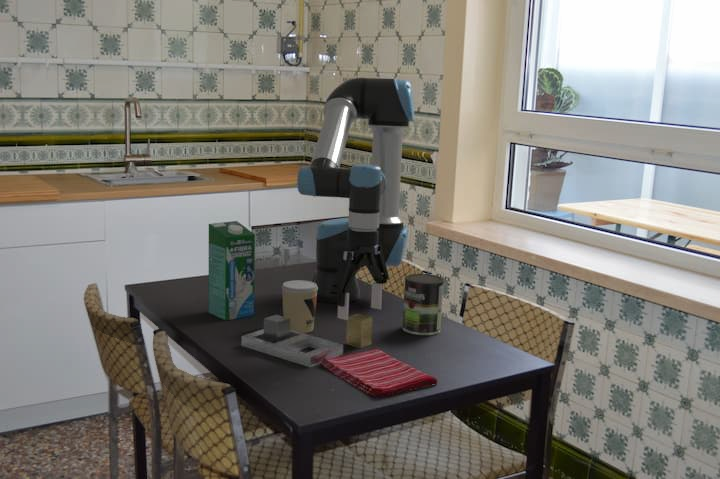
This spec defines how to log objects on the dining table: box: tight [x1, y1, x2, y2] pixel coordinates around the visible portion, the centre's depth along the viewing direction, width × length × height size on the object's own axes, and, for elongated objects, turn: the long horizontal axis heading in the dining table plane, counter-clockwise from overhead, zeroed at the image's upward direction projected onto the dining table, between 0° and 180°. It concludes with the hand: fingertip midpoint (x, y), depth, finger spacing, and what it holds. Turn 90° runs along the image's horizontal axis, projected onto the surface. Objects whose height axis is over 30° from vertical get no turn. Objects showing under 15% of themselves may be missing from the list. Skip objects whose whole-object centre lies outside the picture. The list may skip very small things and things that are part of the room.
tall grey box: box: [263, 314, 290, 343], centre depth 205 cm, size 4×4×7 cm
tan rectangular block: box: [345, 313, 373, 349], centre depth 209 cm, size 4×4×7 cm
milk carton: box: [208, 220, 256, 321], centre depth 228 cm, size 9×9×25 cm
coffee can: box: [401, 273, 445, 336], centre depth 222 cm, size 10×10×14 cm
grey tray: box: [241, 328, 344, 368], centre depth 203 cm, size 12×22×2 cm, turn 53°
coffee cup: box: [281, 279, 318, 334], centre depth 219 cm, size 9×9×12 cm
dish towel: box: [319, 348, 438, 398], centre depth 189 cm, size 17×24×3 cm
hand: (359, 313), depth 208 cm, fingers open, 13 cm apart
